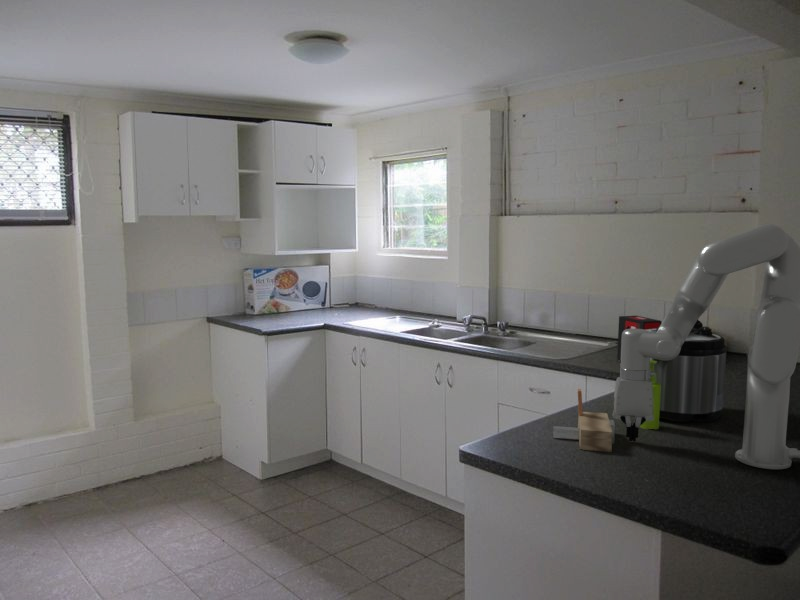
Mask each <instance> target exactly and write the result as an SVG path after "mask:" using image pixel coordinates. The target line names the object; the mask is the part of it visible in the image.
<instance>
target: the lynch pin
mask: <svg viewBox="0 0 800 600" xmlns="http://www.w3.org/2000/svg"><path fill="white" fill-rule="evenodd" d="M609 422H610V425H611V429H612V445H614V444H615V431H616V424H615V420H614V419H609ZM579 433H580V428H578V427H574V426H573V427H571V426H557V425H553V437H552V438H554V439H563V440H564V439H566V440H578V441H579Z"/></svg>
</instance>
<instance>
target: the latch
mask: <svg viewBox="0 0 800 600" xmlns="http://www.w3.org/2000/svg"><path fill="white" fill-rule="evenodd" d="M582 395H583V394H582V388H577V404H578V414H579V415H583V412H584V411H583V399H582V398H583V397H582Z"/></svg>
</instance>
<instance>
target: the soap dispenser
mask: <svg viewBox="0 0 800 600" xmlns="http://www.w3.org/2000/svg"><path fill="white" fill-rule="evenodd" d="M654 364H657V361H653V360H650V370H651V371H654ZM650 379H651V380H652V386H653V403H654V409H653V417H654V420H651V421H645V422H644V423H643V424H641V425H640V427H639V428H640V429H644V430H648V429H655V430H658V429H659V428H660V418H659V414H660V395H661V384H660V383H657V372H655V376H651V377H650Z"/></svg>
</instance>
